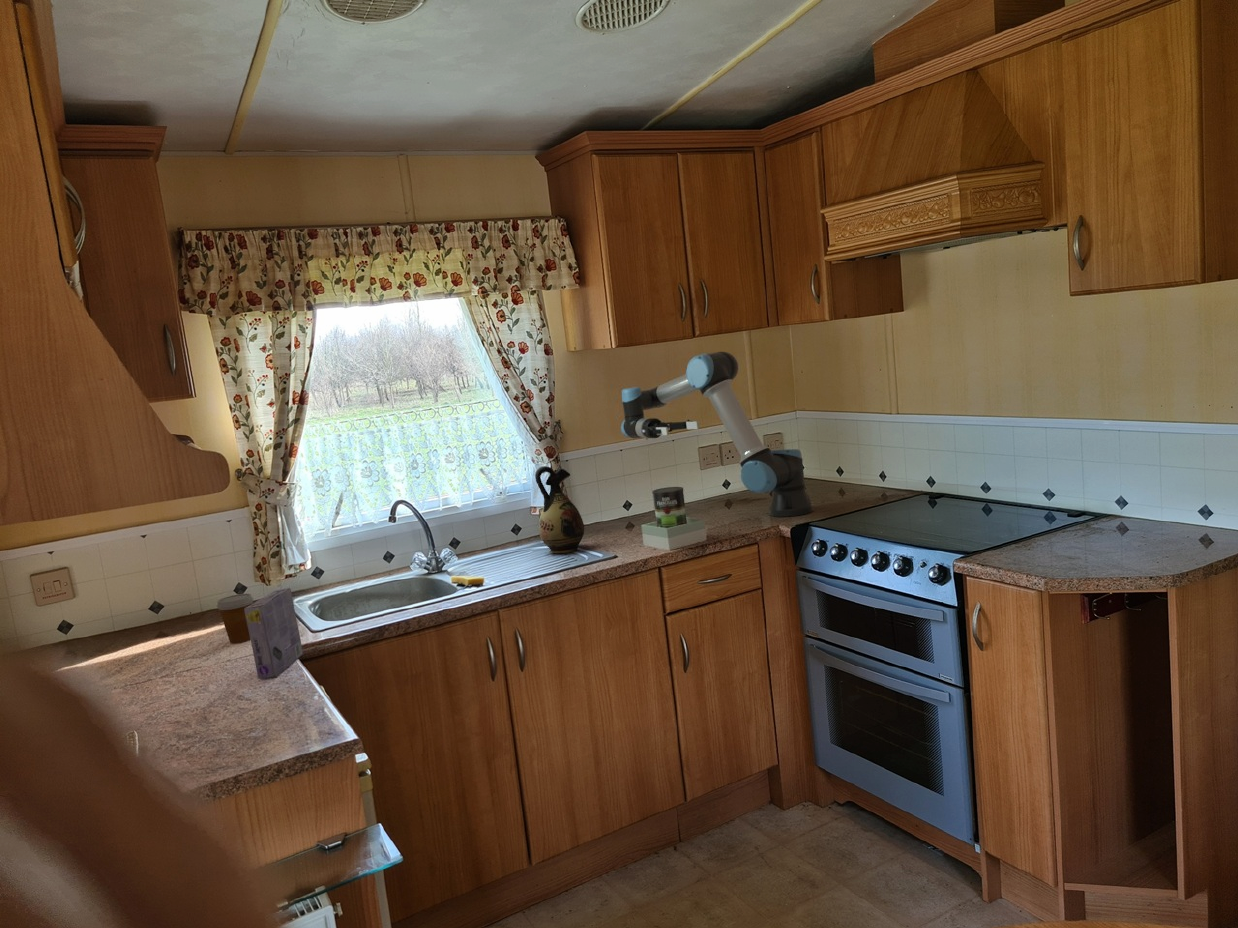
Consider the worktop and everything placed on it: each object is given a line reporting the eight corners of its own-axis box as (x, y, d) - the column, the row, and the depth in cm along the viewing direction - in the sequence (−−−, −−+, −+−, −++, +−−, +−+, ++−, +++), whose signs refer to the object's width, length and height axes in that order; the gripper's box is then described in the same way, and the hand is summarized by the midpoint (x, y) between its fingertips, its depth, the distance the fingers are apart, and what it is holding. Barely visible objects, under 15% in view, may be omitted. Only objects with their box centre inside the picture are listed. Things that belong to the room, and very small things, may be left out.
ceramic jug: (576, 543, 336) (564, 460, 333) (593, 549, 322) (582, 462, 319) (531, 553, 329) (519, 468, 326) (547, 559, 315) (534, 471, 312)
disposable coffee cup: (231, 647, 256) (223, 604, 255) (218, 642, 263) (210, 600, 262) (265, 636, 262) (258, 594, 261) (252, 632, 269) (244, 591, 268)
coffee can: (685, 533, 308) (680, 490, 307) (654, 535, 311) (649, 493, 309) (690, 526, 318) (685, 485, 317) (660, 529, 321) (655, 488, 319)
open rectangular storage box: (679, 535, 325) (677, 516, 324) (706, 540, 313) (704, 519, 312) (643, 545, 318) (641, 525, 317) (669, 550, 305) (666, 529, 304)
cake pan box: (287, 654, 241) (275, 587, 239) (306, 652, 241) (294, 585, 239) (255, 681, 222) (242, 608, 220) (276, 678, 222) (263, 605, 220)
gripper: (677, 433, 364) (711, 433, 346) (623, 443, 352) (655, 444, 334) (675, 413, 364) (709, 412, 346) (620, 423, 351) (652, 423, 333)
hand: (682, 428), depth 340 cm, fingers open, 13 cm apart
